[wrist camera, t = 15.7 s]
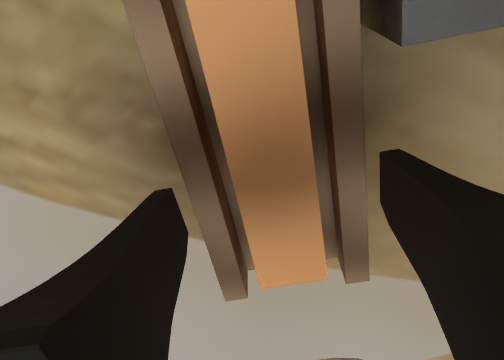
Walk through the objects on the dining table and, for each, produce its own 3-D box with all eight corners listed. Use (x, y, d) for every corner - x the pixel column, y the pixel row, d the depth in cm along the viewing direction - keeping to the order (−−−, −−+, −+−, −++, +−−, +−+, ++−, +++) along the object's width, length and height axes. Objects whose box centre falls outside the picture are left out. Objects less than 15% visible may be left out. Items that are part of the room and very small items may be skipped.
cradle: (87, -189, 12) (43, -230, 9) (324, -255, 11) (348, -319, 8) (227, 261, 22) (225, 301, 19) (354, 241, 21) (369, 280, 19)
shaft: (168, -127, 12) (145, -153, 9) (266, -152, 11) (272, -186, 9) (258, 243, 20) (260, 289, 17) (316, 234, 20) (328, 279, 17)
